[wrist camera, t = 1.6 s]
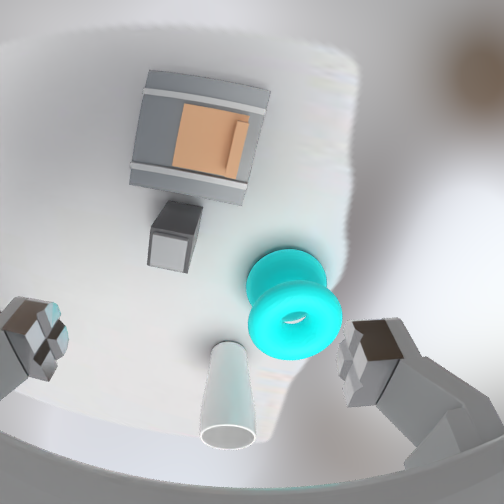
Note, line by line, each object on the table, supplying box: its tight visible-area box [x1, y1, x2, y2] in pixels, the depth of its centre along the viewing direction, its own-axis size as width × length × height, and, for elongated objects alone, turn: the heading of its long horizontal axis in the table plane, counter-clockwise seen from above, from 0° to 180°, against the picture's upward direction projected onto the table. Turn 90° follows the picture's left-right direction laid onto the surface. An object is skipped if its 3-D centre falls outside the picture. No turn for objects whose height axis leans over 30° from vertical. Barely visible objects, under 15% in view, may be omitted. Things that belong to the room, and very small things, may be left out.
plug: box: [147, 201, 203, 273], centre depth 31 cm, size 4×4×9 cm
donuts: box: [246, 249, 342, 360], centre depth 35 cm, size 10×10×10 cm
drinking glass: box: [200, 342, 256, 450], centre depth 38 cm, size 7×7×15 cm
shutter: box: [172, 104, 250, 179], centre depth 27 cm, size 6×6×4 cm
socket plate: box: [129, 70, 271, 206], centre depth 29 cm, size 12×12×4 cm
